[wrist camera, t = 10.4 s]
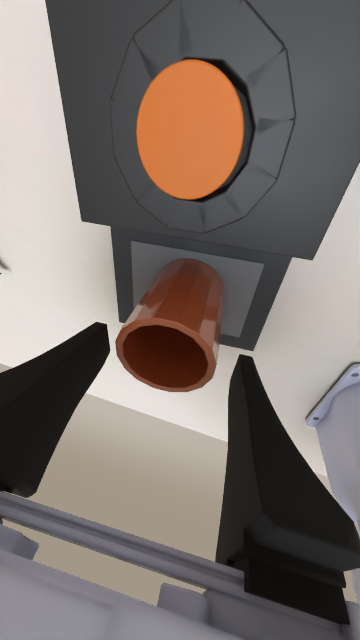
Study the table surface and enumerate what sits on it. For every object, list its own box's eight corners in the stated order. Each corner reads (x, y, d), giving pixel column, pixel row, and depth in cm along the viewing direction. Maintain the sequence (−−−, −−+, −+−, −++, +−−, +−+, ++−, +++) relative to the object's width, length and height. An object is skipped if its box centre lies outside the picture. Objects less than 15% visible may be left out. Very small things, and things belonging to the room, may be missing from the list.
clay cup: (217, 325, 18) (206, 401, 13) (154, 312, 19) (119, 379, 14) (232, 265, 15) (226, 332, 10) (156, 252, 16) (111, 308, 10)
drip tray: (252, 343, 20) (253, 352, 19) (123, 316, 22) (118, 323, 21) (293, 242, 15) (296, 248, 14) (115, 213, 16) (108, 217, 15)
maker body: (296, 234, 14) (322, 277, 10) (115, 205, 16) (60, 231, 11) (377, 34, 9) (510, -74, 5) (100, 18, 11) (-10, -80, 6)
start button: (231, 197, 9) (229, 206, 8) (152, 185, 9) (137, 192, 8) (256, 79, 7) (259, 63, 6) (154, 70, 7) (133, 54, 6)
